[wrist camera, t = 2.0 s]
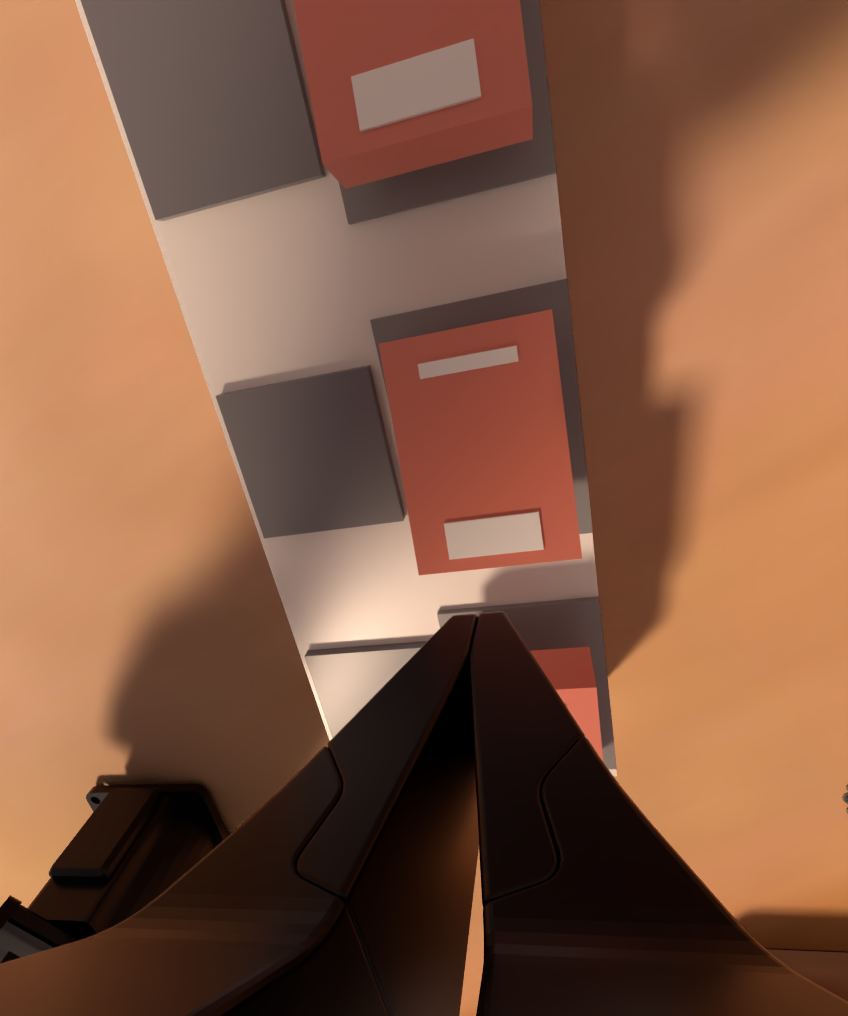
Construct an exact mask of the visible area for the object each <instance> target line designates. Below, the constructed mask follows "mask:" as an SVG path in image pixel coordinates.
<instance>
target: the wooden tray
mask: <svg viewBox="0 0 848 1016" xmlns="http://www.w3.org/2000/svg"><path fill="white" fill-rule="evenodd" d="M767 950H768V951H769V952H770V953H771V954H772V955H774V956H775V957H776V958H777V959H779V960H780V961H781V962H783V963H784V964H785V965H787V966H788V967H789V968H791V969H792V970H794V971H795V972H797V973H798V974H800V975H802V976H803V977H805V978H807V979H809V980H810V981H812V982H814V983H816V984H817V985H819V986H821V987H823V988H824V989H826V990H828V991H830V992H831V993H833V994H835V995H837V996H838V997H840V998H842V999H844V1000H845V1001H847V1002H848V953H844V952H820V951H796V950H772V949H767Z"/></svg>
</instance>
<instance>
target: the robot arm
mask: <svg viewBox="0 0 848 1016" xmlns="http://www.w3.org/2000/svg"><path fill="white" fill-rule="evenodd" d="M86 799H87V801H88V803H89V805H90V806H91V808H92V810H93V814H92V815H91V816H90V818H89V819H88V820H87V822H86V823H85V824H84V825H83V827H82V828H81V829H80V831H79V832H78V833H77V834H76V836H75V837H74V838H73V840H72V841H71V842H70V844H69V845H68V846H67V847H66V849H65V850H64V851H63V853H62V854H61V855H60V856H59V858H58V859H57V860H56V862H55V863H54V864H53V866H52V867H51V869H50V871H49V876H50V877H51V878H50V879H49V881H48V882H47V883H46V885H45V886H44V887H43V889H42V890H41V891H40V893H39V894H38V895H37V897H36V898H35V899H34V901H33V902H32V903H31V904H30V906H29V907H28V908H25V907H24V906H22V905H20V904H21V903H22V902H21V901H19V900H18V899H16V898H14V897H12V896H11V895H10V896H9V897H8V899H7V900H6V901H5V902H4V904H3V905H2V906H1V907H0V1016H459V1013H460V1005H461V996H462V987H463V979H464V970H465V961H466V953H467V944H468V935H469V927H470V918H471V909H472V901H473V892H474V883H475V875H476V866H477V857H478V849H479V851H480V869H481V887H482V904H483V924H484V965H483V973H482V980H481V987H480V993H479V1000H478V1007H477V1014H476V1016H848V1002H847V1001H845V1000H844V999H842V998H840V997H838V996H837V995H835V994H833V993H831V992H830V991H828V990H826V989H824V988H823V987H821V986H819V985H817V984H816V983H814V982H812V981H810V980H809V979H807V978H805V977H803V976H802V975H800V974H798V973H797V972H795V971H794V970H792V969H791V968H789V967H788V966H787V965H785V964H784V963H783V962H781V961H780V960H779V959H777V958H776V957H775V956H774V955H772V954H771V953H770V952H769V951H768V950H767V949H765V948H764V947H763V946H762V945H761V944H760V943H759V942H757V941H756V940H755V939H754V938H753V937H752V936H751V935H750V934H749V933H748V932H747V931H746V930H745V929H744V928H743V927H742V925H741V924H740V923H739V922H738V921H737V920H736V919H735V918H734V917H733V916H732V915H731V913H730V912H729V911H728V910H727V909H726V908H725V907H724V906H723V904H722V903H721V902H720V901H719V900H718V899H717V898H716V897H715V895H714V894H713V893H712V892H711V891H710V890H709V889H708V887H707V886H706V885H705V884H704V883H703V882H702V881H701V879H700V878H699V877H698V876H697V875H696V874H695V873H694V871H693V870H692V869H691V868H690V867H689V866H688V865H687V863H686V862H685V861H684V860H683V859H682V858H681V857H680V856H679V854H678V853H677V852H676V851H675V850H674V849H673V848H672V846H671V845H670V844H669V843H668V842H667V841H666V840H665V838H664V837H663V836H662V835H661V834H660V833H659V832H658V830H657V829H656V828H655V827H654V826H653V825H652V824H651V822H650V821H649V820H648V819H647V818H646V817H645V815H644V814H643V813H642V812H641V811H640V809H639V808H638V807H637V806H636V804H635V803H634V802H633V801H632V800H631V798H630V797H629V796H628V795H627V794H626V792H625V791H624V790H623V789H622V787H621V786H620V785H619V783H618V782H617V781H616V779H615V778H614V776H613V775H612V774H611V772H610V771H609V769H608V768H607V767H606V765H605V764H604V762H603V761H602V760H601V758H600V757H599V755H598V754H597V752H596V751H595V749H594V747H593V746H592V744H591V743H590V741H589V740H588V739H587V738H585V734H584V733H583V731H582V730H581V728H580V727H579V725H578V724H577V722H576V720H575V719H574V717H573V716H572V714H571V713H570V711H569V710H568V708H567V707H566V705H565V704H564V702H563V701H562V699H561V697H560V696H559V694H558V693H557V691H556V690H555V688H554V687H553V685H552V684H551V682H550V681H549V679H548V678H547V676H546V675H545V673H544V671H543V670H542V668H541V667H540V665H539V664H538V662H537V661H536V659H535V658H534V656H533V655H532V653H531V652H530V650H529V649H528V647H527V645H526V644H525V642H524V641H523V639H522V638H521V636H520V635H519V633H518V632H517V630H516V629H515V627H514V626H513V624H512V623H511V621H510V619H509V618H508V616H507V615H506V614H505V613H504V612H502V611H498V612H487V613H481V614H480V615H479V616H477V615H476V614H464V615H454V616H452V617H451V618H450V619H449V620H448V621H447V622H446V623H445V624H444V625H443V626H442V627H441V628H440V629H439V630H438V631H437V632H436V633H435V634H434V635H433V636H432V637H431V638H430V639H429V640H428V641H427V642H426V643H425V644H424V645H423V646H422V647H421V648H420V649H419V650H418V651H417V652H416V653H415V654H414V655H413V656H412V658H411V659H410V660H409V661H408V662H407V663H406V664H405V665H404V666H403V667H402V668H401V669H400V670H399V671H398V672H397V673H396V674H395V675H394V676H393V677H392V678H391V679H390V680H389V681H388V682H387V683H386V684H385V685H384V686H383V687H382V688H381V689H380V690H379V691H378V692H377V693H376V694H375V695H374V696H373V697H372V698H371V699H370V700H369V702H368V703H367V704H366V705H365V706H364V707H363V708H362V709H361V710H360V711H359V712H358V713H357V714H356V715H355V716H354V717H353V718H352V719H351V720H350V721H349V722H348V723H347V724H346V725H345V726H344V727H343V728H342V729H341V730H340V731H339V732H338V733H337V734H336V735H335V736H334V737H333V738H332V739H331V740H330V741H329V742H328V747H323V748H322V749H321V750H320V751H319V752H318V753H317V754H316V755H315V756H314V758H313V759H312V760H311V761H310V762H309V763H308V764H307V765H306V766H305V767H304V768H303V769H302V770H300V771H299V772H298V773H297V774H296V775H295V776H294V777H293V778H292V779H291V780H290V781H289V782H288V783H287V784H286V785H285V786H284V787H283V788H282V789H281V790H280V791H279V792H278V793H277V794H276V795H274V796H273V797H272V798H271V799H270V800H269V801H268V802H267V803H266V804H264V805H263V806H262V807H261V808H260V809H259V810H258V811H257V812H255V813H254V814H253V815H252V816H251V817H250V818H249V819H248V820H247V821H245V822H244V823H243V824H242V825H241V826H240V827H238V828H237V829H236V830H235V831H234V832H233V833H231V834H230V835H228V833H227V830H226V828H225V826H224V824H223V822H222V820H221V818H220V816H219V813H218V811H217V809H216V807H215V805H214V803H213V801H212V798H211V796H210V794H209V792H208V790H207V789H206V788H205V787H203V786H202V785H199V784H168V785H120V786H95V787H93V788H92V789H91V790H90V792H89V793H88V794H87V795H86Z"/></svg>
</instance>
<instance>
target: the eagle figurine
mask: <svg viewBox="0 0 848 1016" xmlns="http://www.w3.org/2000/svg"><path fill="white" fill-rule="evenodd" d="M846 789H847V790H848V785H847V786H846ZM842 798H843V801H844V802H846V803H847V804H848V792H847V793H845V794H843V796H842ZM847 813H848V808H847Z"/></svg>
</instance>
